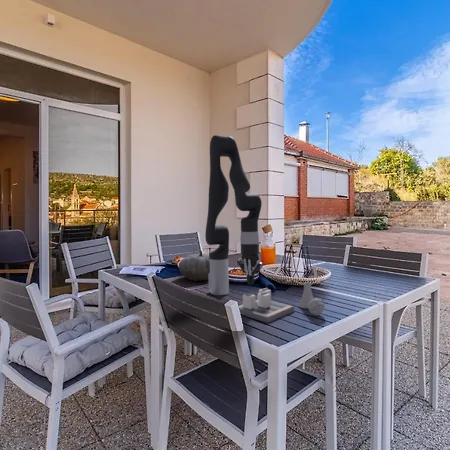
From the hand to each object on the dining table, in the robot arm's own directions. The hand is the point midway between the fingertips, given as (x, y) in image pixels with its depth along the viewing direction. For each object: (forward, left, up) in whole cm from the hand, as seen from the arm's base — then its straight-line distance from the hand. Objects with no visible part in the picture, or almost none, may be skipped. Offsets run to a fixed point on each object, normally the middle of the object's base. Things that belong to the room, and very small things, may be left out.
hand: (250, 283), depth 134 cm
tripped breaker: (+7, 0, -8) cm, 11 cm away
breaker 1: (+3, -5, -8) cm, 10 cm away
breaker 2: (+3, +5, -8) cm, 10 cm away
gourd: (-57, +20, -11) cm, 62 cm away
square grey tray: (+7, 0, -10) cm, 12 cm away
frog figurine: (+24, +10, -11) cm, 28 cm away
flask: (+16, +17, -11) cm, 26 cm away
